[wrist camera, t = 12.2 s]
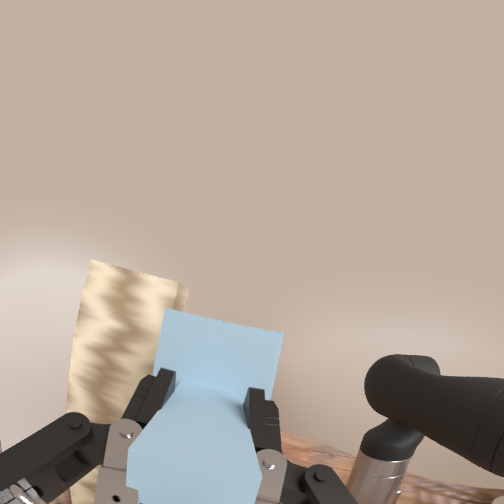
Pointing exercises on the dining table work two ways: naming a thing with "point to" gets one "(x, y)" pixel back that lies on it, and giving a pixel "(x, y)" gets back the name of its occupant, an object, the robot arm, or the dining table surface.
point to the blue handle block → (204, 413)
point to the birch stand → (115, 346)
